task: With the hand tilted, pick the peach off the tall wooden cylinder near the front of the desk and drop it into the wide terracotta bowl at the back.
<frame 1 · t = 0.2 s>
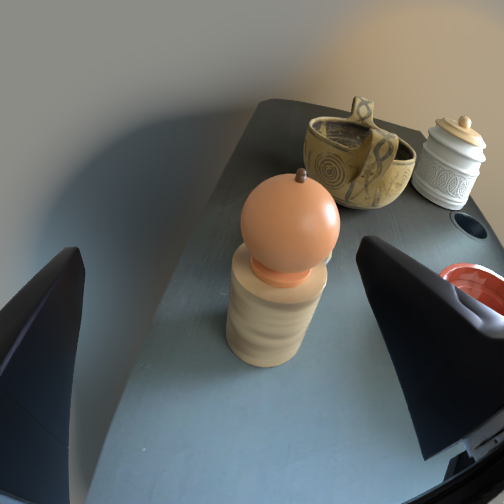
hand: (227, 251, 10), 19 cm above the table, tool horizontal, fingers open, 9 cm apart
wooden cylinder: (263, 334, 29), on the table
bowl: (474, 347, 29), on the table
peach: (280, 265, 23), point 9 cm above the table, touching wooden cylinder
ceramic bowl: (346, 198, 50), on the table
jar: (436, 193, 57), on the table
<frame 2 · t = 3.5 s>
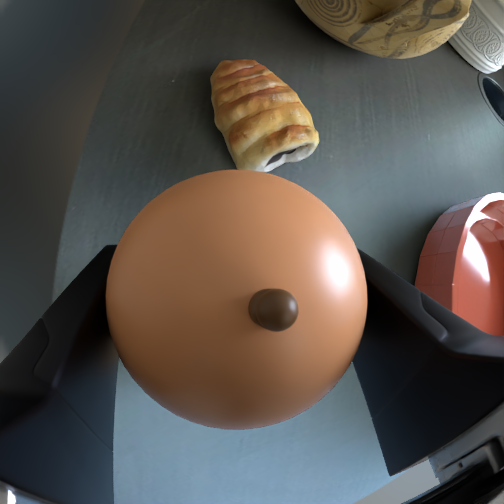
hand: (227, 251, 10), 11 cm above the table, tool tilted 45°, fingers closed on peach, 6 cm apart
pastry: (254, 126, 23), on the table
bowl: (474, 296, 25), on the table
peach: (220, 296, 12), point 9 cm above the table, touching wooden cylinder, gripper
ceramic bowl: (345, 25, 26), on the table
jar: (463, 41, 32), on the table
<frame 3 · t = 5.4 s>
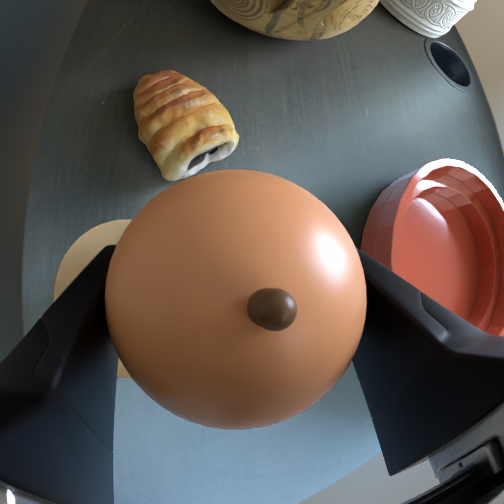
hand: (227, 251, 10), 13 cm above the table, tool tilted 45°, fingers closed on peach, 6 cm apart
pastry: (179, 132, 23), on the table
wooden cylinder: (148, 294, 22), on the table
bowl: (434, 267, 27), on the table
peach: (219, 296, 12), point 11 cm above the table, touching gripper
ceramic bowl: (271, 14, 27), on the table
jar: (407, 9, 32), on the table
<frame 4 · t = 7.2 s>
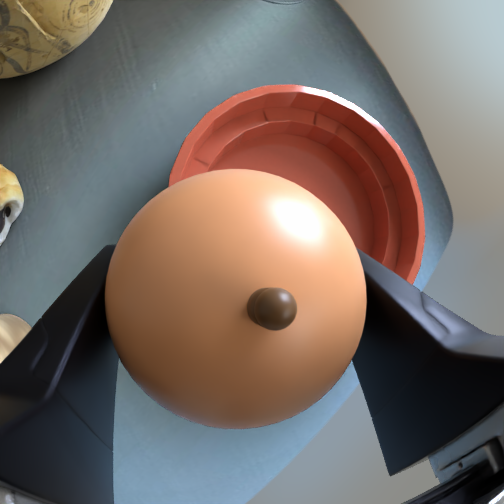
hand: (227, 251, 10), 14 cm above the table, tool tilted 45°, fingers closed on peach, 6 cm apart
wooden cylinder: (11, 357, 19), on the table
bowl: (291, 221, 24), on the table
peach: (219, 296, 12), point 11 cm above the table, touching gripper
ceramic bowl: (48, 41, 22), on the table
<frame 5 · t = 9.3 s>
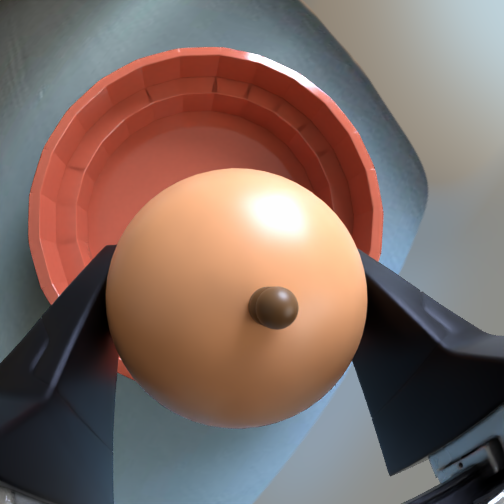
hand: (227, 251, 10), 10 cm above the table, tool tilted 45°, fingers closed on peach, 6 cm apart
bowl: (204, 218, 19), on the table
peach: (220, 296, 12), point 7 cm above the table, touching gripper
when the fingers open (6 cm above the table, at t = 11.0 s): peach drops 3 cm, resting on bowl.
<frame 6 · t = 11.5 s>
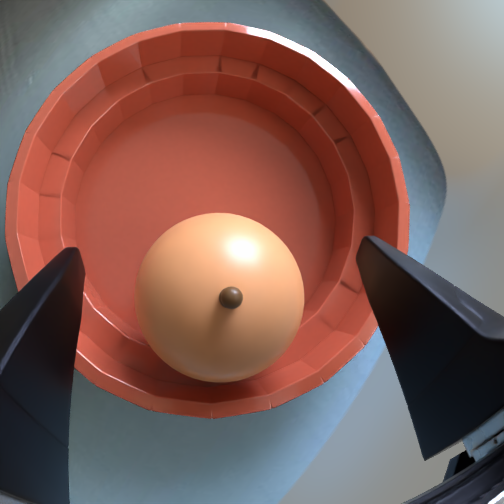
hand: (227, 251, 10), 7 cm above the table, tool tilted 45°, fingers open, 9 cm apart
bowl: (206, 212, 17), on the table
peach: (212, 298, 16), point 1 cm above the table, touching bowl
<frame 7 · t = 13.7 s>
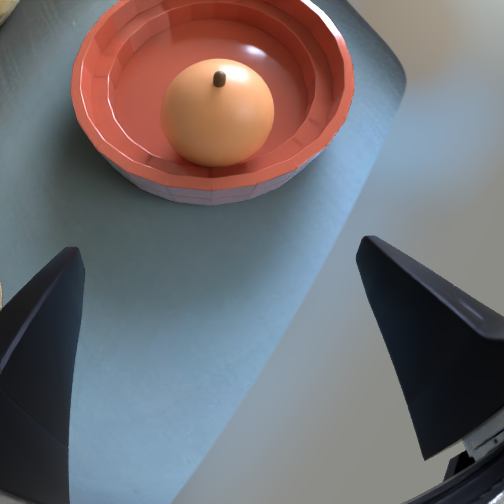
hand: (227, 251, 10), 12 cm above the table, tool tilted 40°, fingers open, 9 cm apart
bowl: (211, 88, 21), on the table
peach: (215, 138, 21), point 1 cm above the table, touching bowl
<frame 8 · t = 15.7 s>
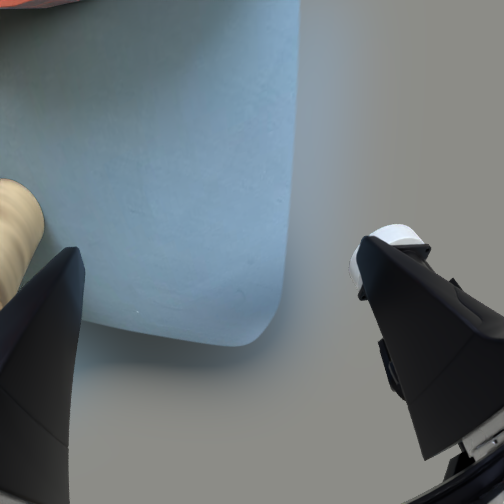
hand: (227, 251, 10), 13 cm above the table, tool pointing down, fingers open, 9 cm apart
wooden cylinder: (8, 217, 20), on the table
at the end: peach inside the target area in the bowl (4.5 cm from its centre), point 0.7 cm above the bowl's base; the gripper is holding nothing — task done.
